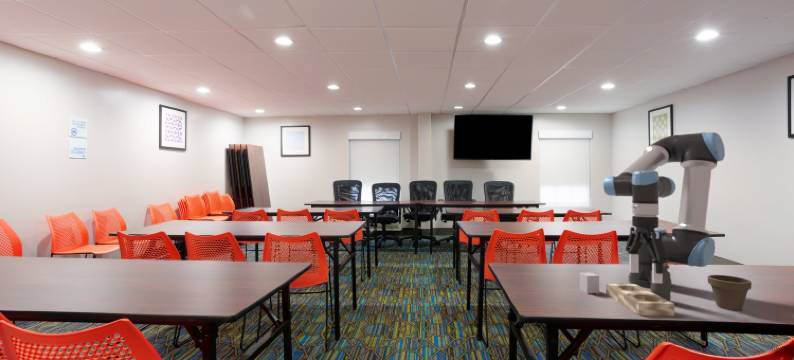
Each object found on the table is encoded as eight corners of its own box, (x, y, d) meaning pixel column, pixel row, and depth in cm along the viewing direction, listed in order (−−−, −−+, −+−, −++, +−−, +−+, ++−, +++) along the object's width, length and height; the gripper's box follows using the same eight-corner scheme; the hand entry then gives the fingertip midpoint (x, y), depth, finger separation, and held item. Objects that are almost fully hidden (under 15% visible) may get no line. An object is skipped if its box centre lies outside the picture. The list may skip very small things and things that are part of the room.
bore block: (635, 294, 143) (635, 284, 143) (674, 315, 121) (674, 303, 121) (606, 294, 144) (605, 283, 144) (639, 315, 122) (639, 303, 122)
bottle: (667, 298, 138) (667, 258, 138) (673, 304, 132) (672, 262, 132) (648, 297, 140) (648, 257, 140) (653, 302, 134) (653, 261, 134)
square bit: (591, 289, 150) (591, 272, 150) (599, 293, 145) (599, 275, 145) (579, 290, 150) (579, 272, 150) (587, 293, 145) (587, 276, 145)
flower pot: (714, 299, 137) (714, 272, 137) (756, 308, 127) (756, 279, 127) (702, 305, 130) (702, 277, 130) (745, 315, 121) (745, 285, 121)
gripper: (615, 212, 140) (615, 268, 140) (656, 219, 115) (656, 287, 115) (635, 212, 139) (635, 268, 139) (681, 219, 114) (681, 288, 115)
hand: (645, 277), depth 127 cm, fingers open, 13 cm apart
